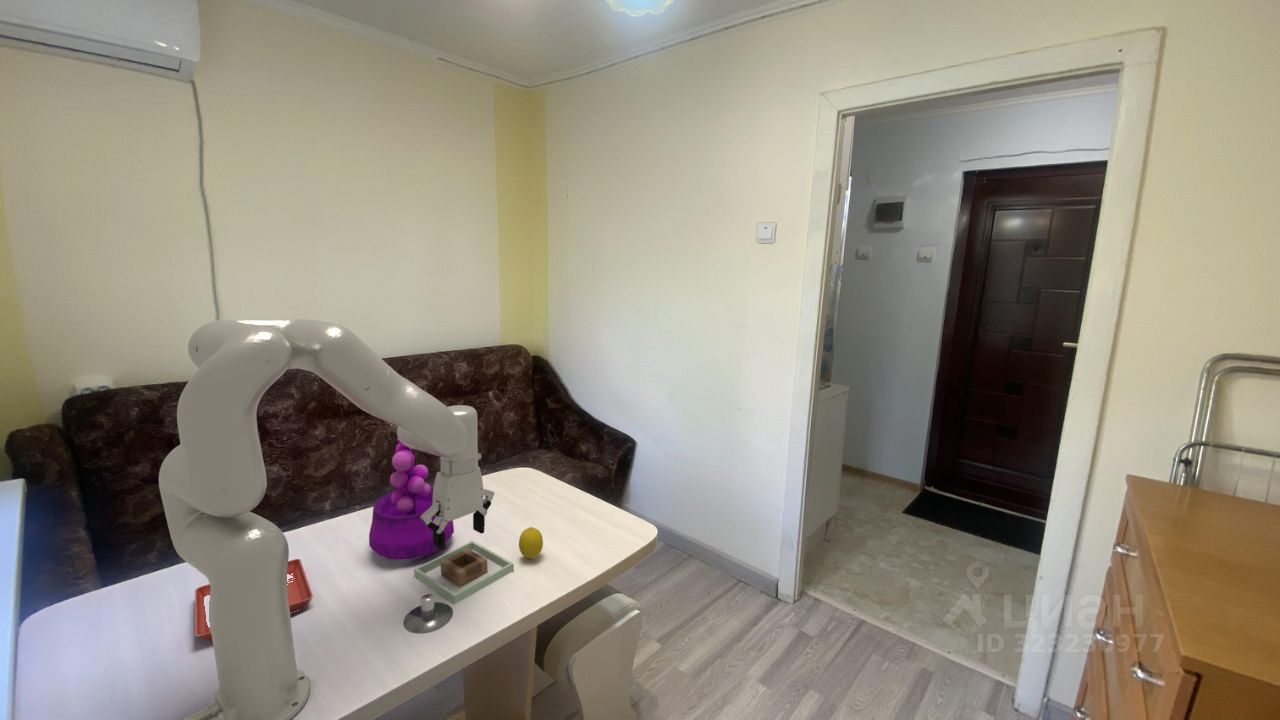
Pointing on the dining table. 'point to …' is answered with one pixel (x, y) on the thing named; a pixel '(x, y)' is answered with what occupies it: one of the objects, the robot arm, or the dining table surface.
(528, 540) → the lemon
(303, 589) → the plant saucer
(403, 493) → the decorative plant
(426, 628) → the peg on round base
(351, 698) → the dining table surface
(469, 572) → the wooden square frame
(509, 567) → the green rectangular frame
